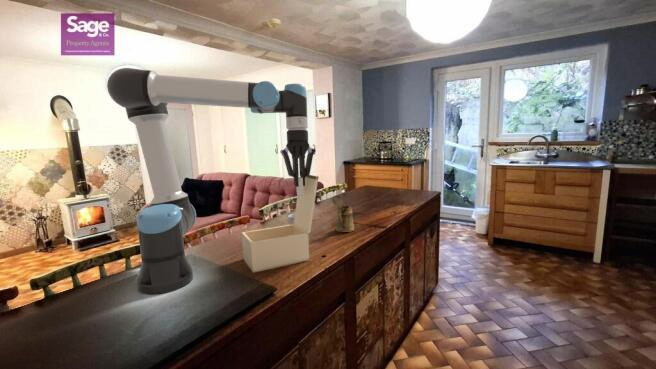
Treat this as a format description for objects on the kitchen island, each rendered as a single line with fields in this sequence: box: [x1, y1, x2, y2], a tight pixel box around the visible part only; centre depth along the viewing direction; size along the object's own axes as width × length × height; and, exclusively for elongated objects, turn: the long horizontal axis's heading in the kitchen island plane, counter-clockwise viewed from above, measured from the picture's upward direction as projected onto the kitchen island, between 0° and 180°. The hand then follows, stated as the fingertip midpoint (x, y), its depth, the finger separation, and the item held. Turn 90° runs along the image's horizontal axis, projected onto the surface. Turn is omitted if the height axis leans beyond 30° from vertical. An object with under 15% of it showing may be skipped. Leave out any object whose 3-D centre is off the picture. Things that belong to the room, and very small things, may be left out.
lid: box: [294, 174, 319, 234], centre depth 114 cm, size 20×14×1 cm
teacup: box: [287, 212, 303, 230], centre depth 147 cm, size 14×11×8 cm
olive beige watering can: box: [331, 195, 355, 233], centre depth 142 cm, size 9×14×18 cm, turn 150°
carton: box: [241, 224, 310, 274], centre depth 110 cm, size 20×14×10 cm
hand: (300, 195), depth 113 cm, fingers closed
